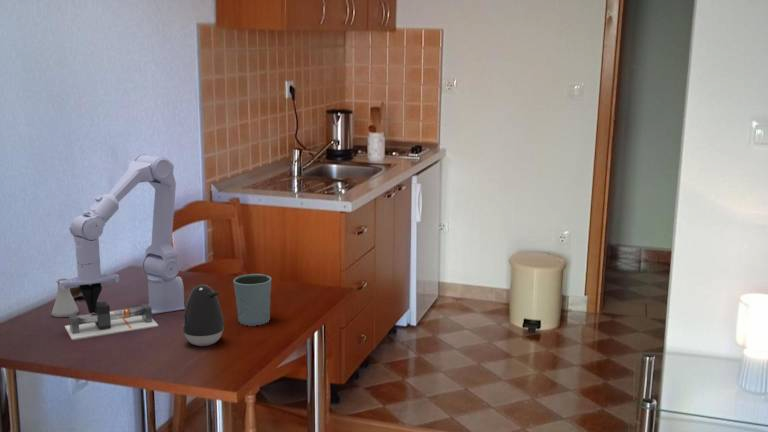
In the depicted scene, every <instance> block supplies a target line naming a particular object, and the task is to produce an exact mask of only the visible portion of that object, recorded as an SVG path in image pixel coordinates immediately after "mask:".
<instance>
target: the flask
mask: <svg viewBox="0 0 768 432" xmlns="http://www.w3.org/2000/svg"><path fill="white" fill-rule="evenodd" d="M68 279H69V278H67V277H65V278H62V277H61V278H57V279H56V283H57V294H56V296H55V297H56V298H55V301H54V305H53V308H52V310H51V314H50V316H51V317H56V318H69V315H70V314H76V315H79V314H78V313H79V312H80V309H79V307H78V305H77V303H76V301H75V298H73V297H72V295H71V292H70V289H69V288H66V289H64V290H61V289H60V281H62V280H68Z"/></svg>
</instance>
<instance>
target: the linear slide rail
mask: <svg viewBox="0 0 768 432" xmlns="http://www.w3.org/2000/svg"><path fill="white" fill-rule="evenodd" d="M148 304H149V303H142V304H141V305H140V306H135V307H126V308H122V309H114V310H110V320H115V319H121V318H130V317H135V316H142V319H143V320H144V321H145V322H146V323H149V322H152V319H153V314H152V308H151V307H150V306H149V305H148ZM68 318H69V320H68V321H69V325H70V330H71V332H72V333H73V334H77V333H79V325H81V324H88V323H95V322H98V315H97V313H87V314H80V315H79V314H70V315H69V317H68Z"/></svg>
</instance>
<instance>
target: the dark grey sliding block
mask: <svg viewBox="0 0 768 432" xmlns="http://www.w3.org/2000/svg"><path fill="white" fill-rule="evenodd" d="M110 311H111V308H110V305H109V304H108V302H107V301H106V300H104V301H97V303H96V308H95V313H97V315H98V322H95V324H96V325H97V327H98V328H99V329H104V328H110V327H111V321H110Z"/></svg>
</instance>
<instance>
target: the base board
mask: <svg viewBox="0 0 768 432" xmlns="http://www.w3.org/2000/svg"><path fill="white" fill-rule="evenodd" d="M110 321H111V327H110V328H104V329H99V328H98V327H97V325H96V324H95V323H88V324H81V325H79V333H77V334H73V333H72V332H71V330H70V324H68V325H64V329H65V331H66V332H67V334H68V336H69V337H70V339H71V341H74V340H75V341H77V340H81V339H82V340H83V339H88V338H94V337H95V338H96V337H101V336H107V335H113V334H120V333H126V332H132V331H138V330H139V331H140V330H144V329H145V330H146V329H151V328H157V327H159V324H158V323H157V322H156V320H154V319H153V318H152V322H149V323H146V322H145V321H144V320H143V319H142V316H135V317H130V318H121V319H115V320H110Z"/></svg>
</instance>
